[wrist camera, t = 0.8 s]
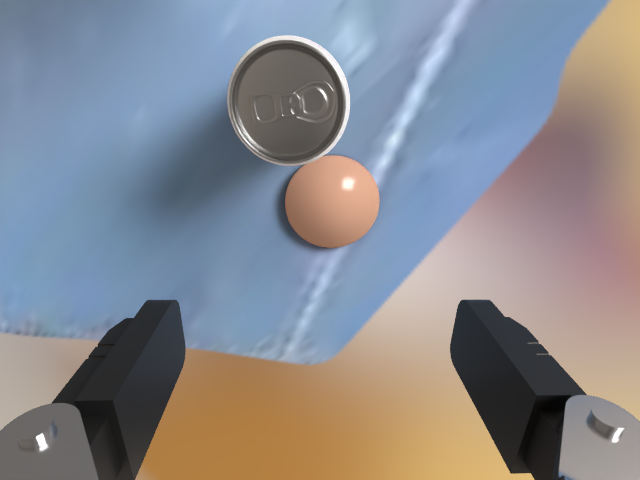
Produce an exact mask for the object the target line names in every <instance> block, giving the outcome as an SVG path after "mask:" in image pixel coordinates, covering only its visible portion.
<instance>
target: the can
mask: <svg viewBox="0 0 640 480" xmlns="http://www.w3.org/2000/svg"><path fill="white" fill-rule="evenodd" d="M227 105H228V112H229V117H230V120H231V123H232V125H233V128H234V130H235V132H236V134H237V135H238V137H239V138H240V140H241V141H242V142H243V144H244V145H245V146H246V147H247V148H248V149H249V150H250V151H251V152H253V153H254V154H255V155H257V156H258V157H260V158H262V159H263V160H265V161H268V162H270V163H273V164H277V165H282V166H299V165H304V164H307V163H310V162H313V161H315V160H317V159H319V158H321V157H322V156H324V155H325V154H326V153H328V152H329V151H330V150H331V149H332V148H333V147H334V146H335V144H336V143H337V142H338V140H339V139H340V137H341V136H342V134H343V132H344V130H345V127H346V124H347V121H348V117H349V111H350V94H349V88H348V84H347V81H346V78H345V75H344V73H343V71H342V69H341V67H340V66H339V64H338V63H337V61H336V60H335V59H334V58H333V56H332V55H331V54H330V53H329V52H328V51H326V50H325V49H324V48H323V47H321V46H320V45H318V44H317V43H315V42H313V41H311V40H308V39H305V38H302V37H298V36H290V35H284V36H276V37H272V38H268V39H266V40H263V41H261V42H259V43H257V44H256V45H254V46H253V47H252V48H250V49H249V50H248V51H247V52H246V53H245V54H244V55H243V56H242V57H241V59H240V60H239V61H238V63H237V65H236V66H235V68H234V70H233V72H232V75H231V78H230V81H229V86H228V93H227Z"/></svg>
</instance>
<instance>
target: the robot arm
mask: <svg viewBox="0 0 640 480" xmlns="http://www.w3.org/2000/svg"><path fill="white" fill-rule="evenodd" d="M450 353H451V359H452V362H453V365H454V367H455V369H456V371H457V373H458V375H459V376H460V379H461V380H462V382H463V384H464V386H465V388H466V390H467V392H468V394H469V395H470V397H471V399H472V401H473V403H474V405H475V407H476V409H477V411H478V413H479V414H480V416H481V418H482V420H483V422H484V424H485V426H486V428H487V430H488V431H489V433H490V435H491V437H492V439H493V441H494V443H495V445H496V446H497V448H498V450H499V452H500V454H501V456H502V458H503V460H504V461H505V463H506V465H507V467H508V469H509V471H510V473H531V474H532V476H533V477H534V479H535V480H640V421H639V420H638V419H636V418H635V417H634V416H633V415H632V414H630V413H629V412H628V411H626V410H625V409H623V408H621V407H620V406H618V405H616V404H614V403H612V402H610V401H607V400H605V399H602V398H598V397H595V396H589V395H586V393H585V392H584V391H583V390H582V389H581V388H580V387H579V386H578V385H577V383H576V382H575V381H574V380H573V379H572V378H571V377H570V376H569V375H568V373H566V371H565V370H564V369H563V368H562V367H561V366H560V365H559V364H558V363H557V361H556V360H555V359H554V358H553V357H552V356H550V355H549V354H548V352H547V350H546V349H545V348H544V347H543V346H542V345H541V344H539V343H538V340H537V339H536V338H535V337H534V336H533V335H532V334H531V333H530V332H529V330H527V328H525V327H524V326H522V325H521V324H519V323H518V322H516V321H514V320H513V319H511V318H510V317H504V316H503V314H502V313H501V312H500V311H499V310H498V308H497V307H495V305H494V304H493V303H492V302H491V301H490V300H461V301H460V303H459V305H458V309H457V313H456V318H455V324H454V329H453V334H452V339H451V344H450ZM184 360H185V340H184V333H183V327H182V320H181V313H180V307H179V303H178V302H177V300H147V301H146V302H145V303H144V305H143V306H142V307H141V309H140V310H139V312H138V313H137V314H136V316H135V317H134V318H126V319H124V320H123V321H121V322H120V323H119V324H117V325H116V326H114V327H113V328H111V329H110V330H109V331H108V332H107V333H106V335H105V336H104V337H103V338H102V340H101V341H100V342H99V343H98V347H95V349H94V350H93V351H92V353H91V354H90V355H89V358H88V359H86V360H85V361H84V363H83V364H82V365H81V366H80V368H79V369H78V370H77V372H76V373H75V374H74V375H73V377H72V378H71V379H70V380H69V382H68V383H67V384H66V385H65V387H64V388H63V389H62V390H61V392H60V393H59V394H58V396H57V397H56V398H55V399H54V401H53V402H52V403H51V404H48V405H44V406H40V407H37V408H35V409H32V410H30V411H28V412H26V413H24V414H22V415H21V416H19V417H17V418H16V419H14V420H13V421H11V422H10V423H9V424H7V425H6V426H5V427H4V428H3V429H2V430H1V431H0V480H135V478H136V476H137V474H138V471H139V469H140V467H141V464H142V462H143V460H144V457H145V455H146V452H147V450H148V448H149V445H150V443H151V441H152V438H153V436H154V434H155V431H156V429H157V426H158V424H159V422H160V420H161V417H162V415H163V412H164V410H165V408H166V405H167V403H168V401H169V398H170V396H171V394H172V391H173V389H174V387H175V384H176V382H177V379H178V377H179V375H180V372H181V370H182V368H183V364H184Z"/></svg>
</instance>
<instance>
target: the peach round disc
mask: <svg viewBox="0 0 640 480" xmlns="http://www.w3.org/2000/svg"><path fill="white" fill-rule="evenodd" d="M285 209H286V214H287V217H288V220H289V222H290V224H291V226H292V227H293V229H294V230H295V231H296V233H297V234H298V235H299V236H301V237H302V238H303V239H304V240H306V241H308V242H310V243H312V244H314V245H317V246H321V247H328V248H335V247H342V246H345V245H348V244H351V243H353V242H355V241H357V240H358V239H360V238H361V237H362V236H363V235H365V234H366V233H367V232H368V230H369V229H370V228H371V226H372V225H373V223H374V221H375V219H376V217H377V214H378V210H379V192H378V188H377V185H376V183H375V181H374V179H373V177H372V176H371V174H370V173H369V172H368V171H367V169H366V168H365V167H364V166H363V165H361V164H360V163H358V162H357V161H355V160H353V159H351V158H349V157H346V156H341V155H324V156H322V157H321V158H319V159H317V160H315V161H313V162H310V163H307V164H304V165H302V166H301V167H300V168H299V169H298V170H297V171H296V172H295V174H294V175H293V177H292V178H291V180H290V182H289V185H288V187H287V191H286V197H285Z"/></svg>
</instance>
